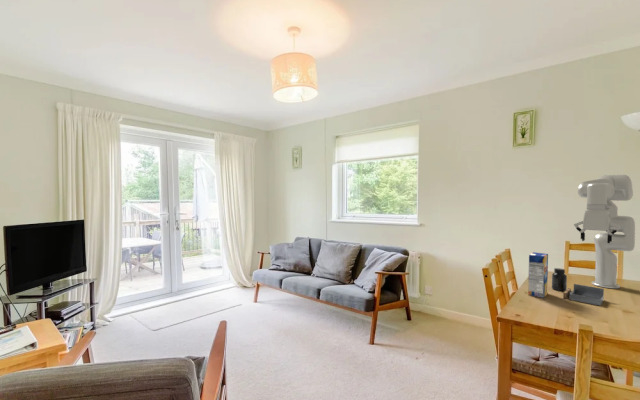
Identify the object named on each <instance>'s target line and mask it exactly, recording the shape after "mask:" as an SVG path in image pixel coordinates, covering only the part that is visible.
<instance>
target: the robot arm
mask: <svg viewBox="0 0 640 400" xmlns="http://www.w3.org/2000/svg"><path fill="white" fill-rule="evenodd" d="M633 191H634V190H633V182H632V179H631V177H630V176H629V175H626V174H607V175H606V174H605V175H601V176H599V177H598V178H597V179H592V180H586V181H582V182H581V183H580V184H579V185H578V187H577V194H578V196H579V197H581V198H583V199H584V198H585V199H586V209H584V214H583V221H579V222H577V223H574V224H573V226H574V227H575V228H576V230H577V231H578V232H579V233H580V240H581V241H582V242H584V241H585V240H586V233H585V231H597V232H598V231H599V232H600V231H601V232H600V233H597V234H595V236H594V237H593V242H594V249H595V270H594V271H595V273H594V275H595V277H594V278H595V279H594V280H592V281H591V284H592V285H593V286H597V287H598V288H604V289H605V288H606V289H617V290H618V289H620V288H621V285H619V284H618V283H617V274H618V272H617V271H618V270H617V269H618V258H617V255H616V254H615V253H614V252H613V251H621V252H631V251H634V249H635V244H636V242H635V241H636V239H635V238H636V221H635V219H634V218H633V217H631V216H628V215H618V206H617V205H616V203H614V202H615V201H617V202H618V201H623V202H625V201H626V202H628V201H630V200H631V199H632V198H633V196H634V192H633ZM613 201H614V202H613ZM580 225H582V228H581V227H579V226H580ZM622 233H623V234H622Z"/></svg>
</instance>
